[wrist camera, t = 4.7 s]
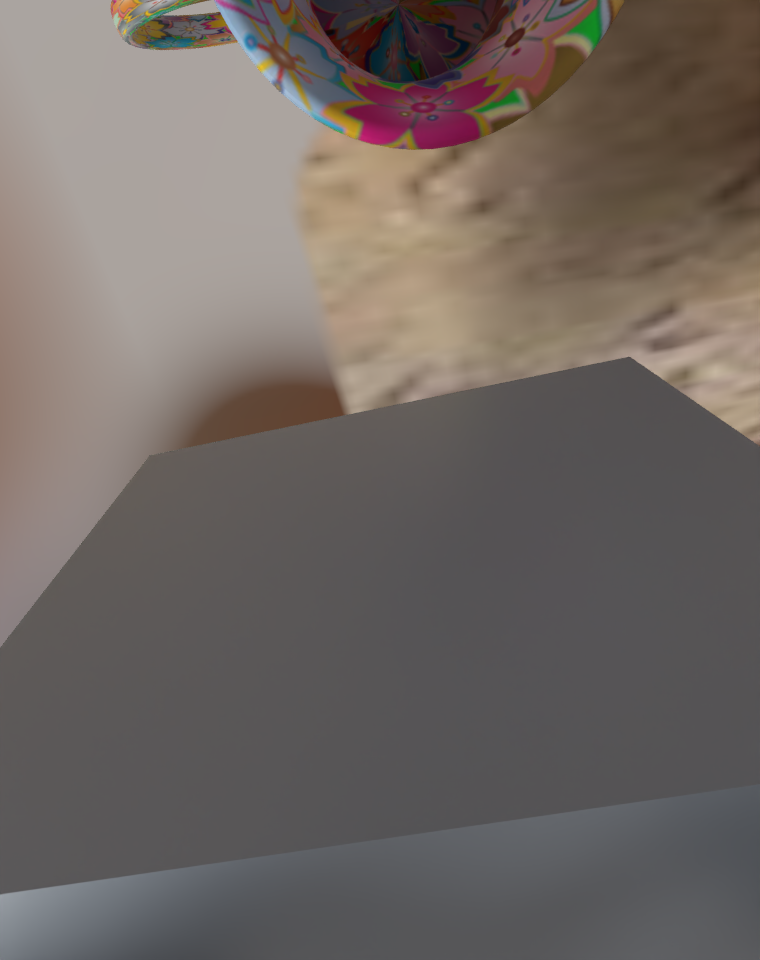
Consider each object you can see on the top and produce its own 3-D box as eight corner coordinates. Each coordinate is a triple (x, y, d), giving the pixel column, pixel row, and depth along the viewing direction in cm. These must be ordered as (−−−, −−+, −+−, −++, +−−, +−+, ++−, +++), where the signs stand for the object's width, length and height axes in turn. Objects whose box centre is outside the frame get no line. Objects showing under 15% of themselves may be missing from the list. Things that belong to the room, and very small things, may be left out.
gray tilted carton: (150, 455, 12) (-217, 925, 5) (629, 356, 12) (1165, 725, 4) (283, 759, 17) (214, 1246, 9) (632, 704, 16) (874, 1187, 8)
